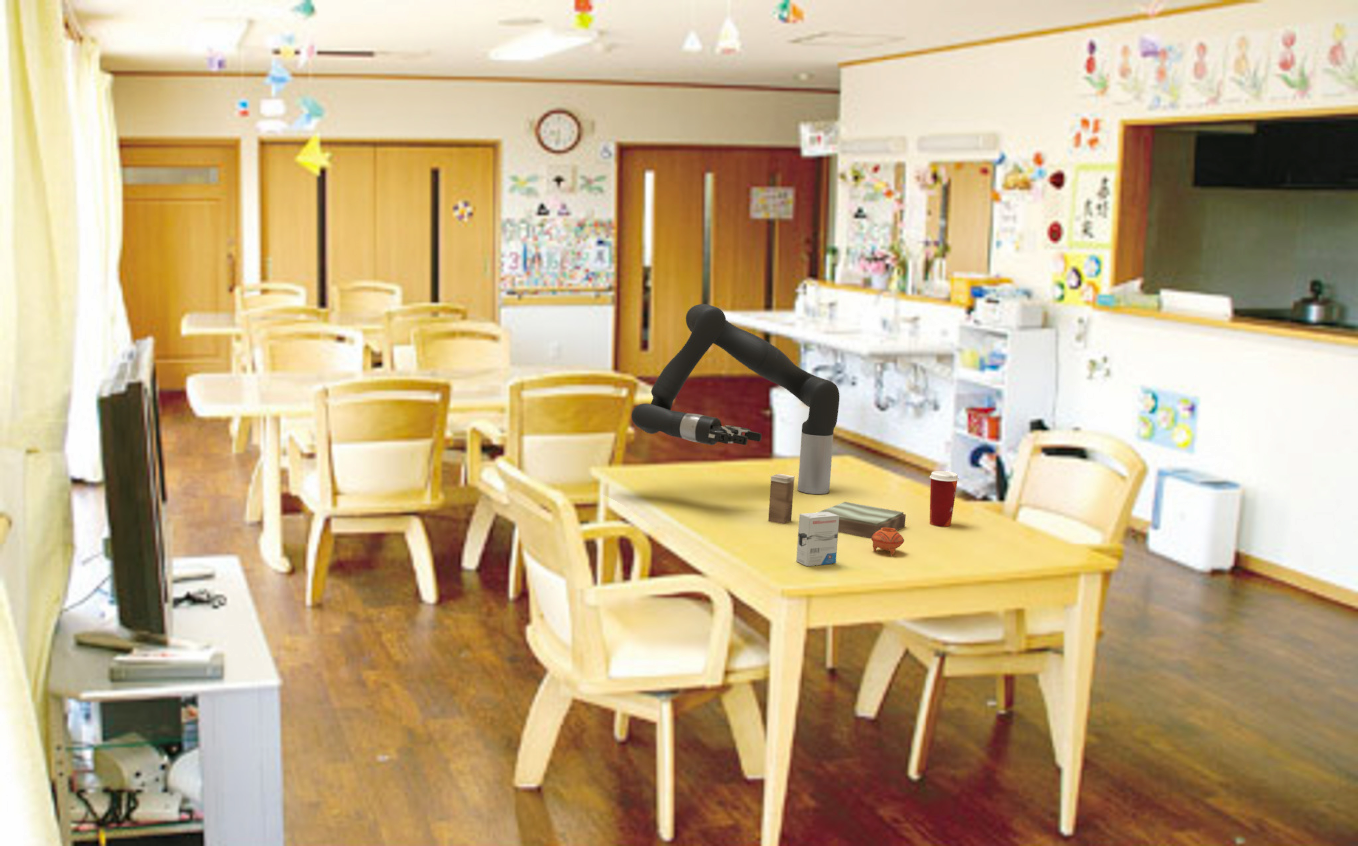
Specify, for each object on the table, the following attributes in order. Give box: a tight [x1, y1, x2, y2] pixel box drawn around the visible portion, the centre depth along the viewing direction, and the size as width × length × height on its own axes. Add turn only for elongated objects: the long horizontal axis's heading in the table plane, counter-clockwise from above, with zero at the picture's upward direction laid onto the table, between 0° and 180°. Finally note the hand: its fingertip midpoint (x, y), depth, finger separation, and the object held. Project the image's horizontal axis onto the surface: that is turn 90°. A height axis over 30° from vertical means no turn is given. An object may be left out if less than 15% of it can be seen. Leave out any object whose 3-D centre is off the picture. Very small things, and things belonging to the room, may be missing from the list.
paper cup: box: [929, 470, 959, 528], centre depth 374 cm, size 8×8×14 cm
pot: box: [870, 527, 905, 556], centre depth 342 cm, size 8×8×7 cm
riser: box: [816, 501, 907, 539], centre depth 366 cm, size 18×18×4 cm
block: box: [767, 473, 795, 525], centre depth 368 cm, size 5×5×12 cm
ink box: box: [796, 511, 839, 567], centre depth 328 cm, size 8×5×12 cm, turn 118°
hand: (754, 439), depth 370 cm, fingers open, 8 cm apart
